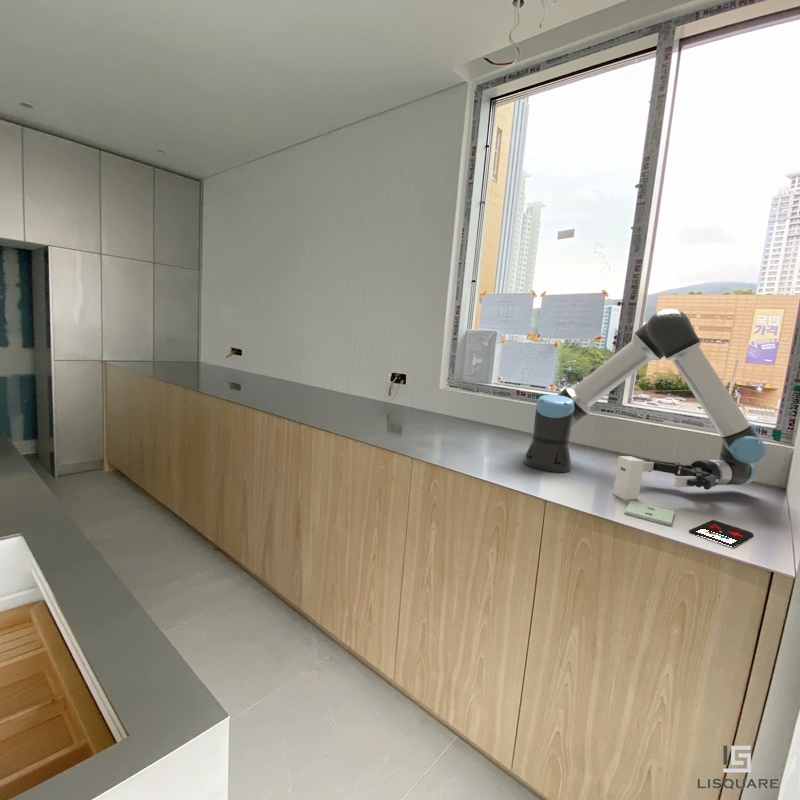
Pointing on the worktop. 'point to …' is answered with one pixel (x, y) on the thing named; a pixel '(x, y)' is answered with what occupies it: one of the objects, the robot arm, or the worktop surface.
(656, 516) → the outlet plate
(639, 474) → the block
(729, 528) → the handheld gaming device
